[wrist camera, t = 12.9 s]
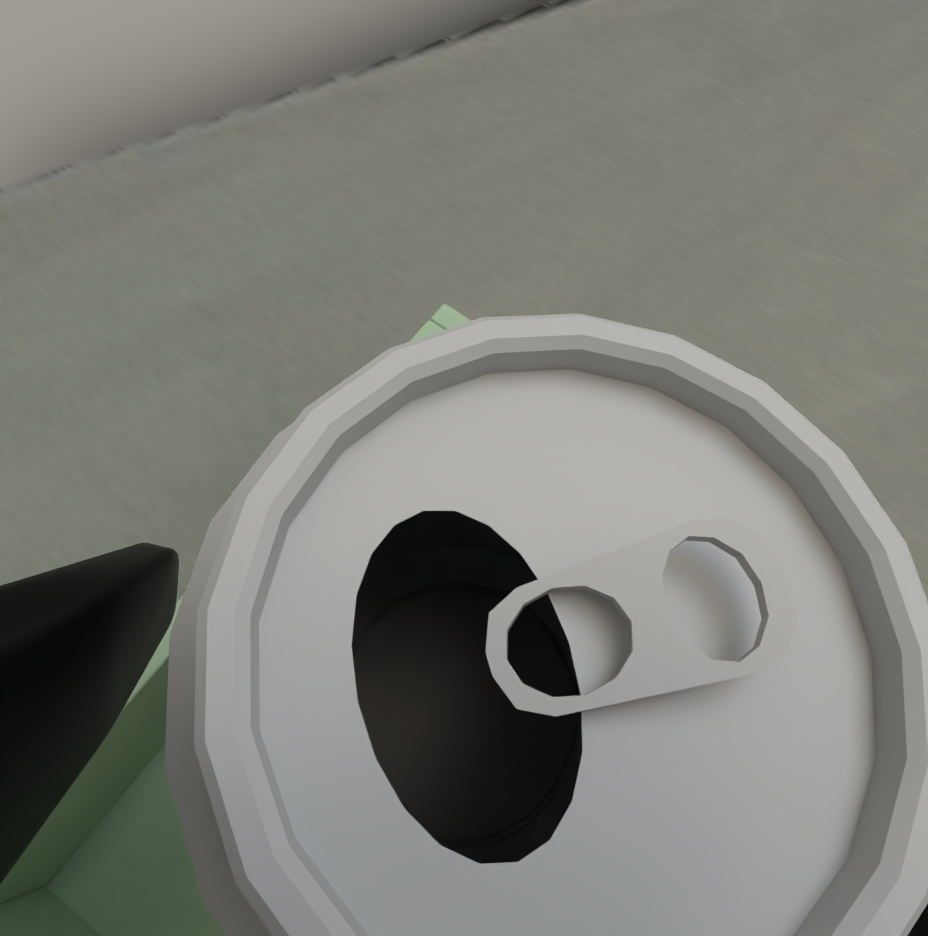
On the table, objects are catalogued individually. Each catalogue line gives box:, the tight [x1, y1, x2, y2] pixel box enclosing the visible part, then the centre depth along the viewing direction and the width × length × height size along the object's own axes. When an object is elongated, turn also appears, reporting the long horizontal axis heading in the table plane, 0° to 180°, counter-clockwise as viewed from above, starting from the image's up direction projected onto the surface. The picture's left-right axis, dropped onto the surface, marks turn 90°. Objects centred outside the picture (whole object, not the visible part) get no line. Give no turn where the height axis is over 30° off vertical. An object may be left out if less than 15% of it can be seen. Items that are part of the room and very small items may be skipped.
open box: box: [0, 304, 471, 936], centre depth 14 cm, size 15×13×4 cm
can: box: [164, 314, 928, 936], centre depth 11 cm, size 8×8×12 cm
